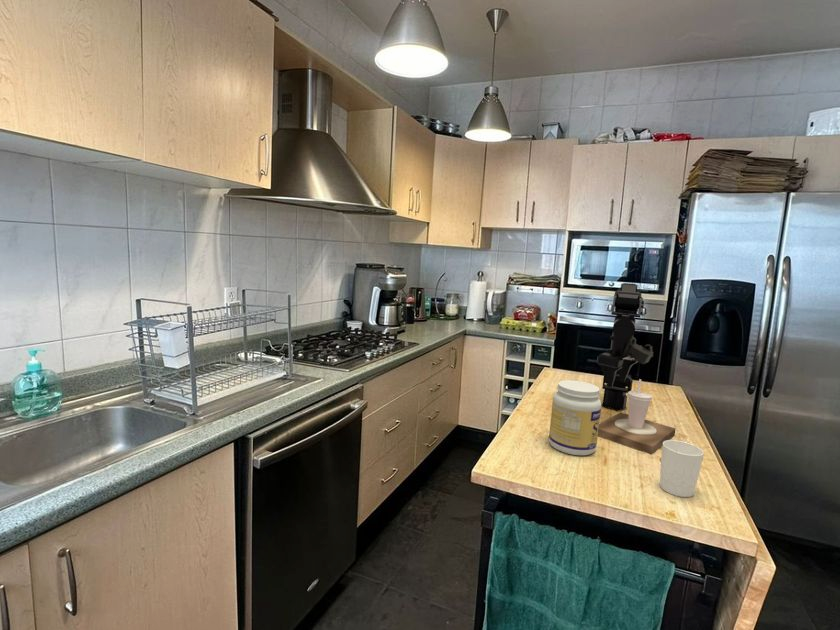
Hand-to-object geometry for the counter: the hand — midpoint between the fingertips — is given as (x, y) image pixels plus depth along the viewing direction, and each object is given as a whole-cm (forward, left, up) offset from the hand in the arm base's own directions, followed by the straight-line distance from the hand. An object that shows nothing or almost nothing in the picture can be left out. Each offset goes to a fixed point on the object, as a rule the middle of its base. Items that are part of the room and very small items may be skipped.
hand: (616, 384), depth 137 cm
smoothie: (+8, -3, -10) cm, 13 cm away
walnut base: (+8, -3, -13) cm, 15 cm away
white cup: (+26, -28, -13) cm, 40 cm away
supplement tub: (0, -26, -13) cm, 29 cm away
